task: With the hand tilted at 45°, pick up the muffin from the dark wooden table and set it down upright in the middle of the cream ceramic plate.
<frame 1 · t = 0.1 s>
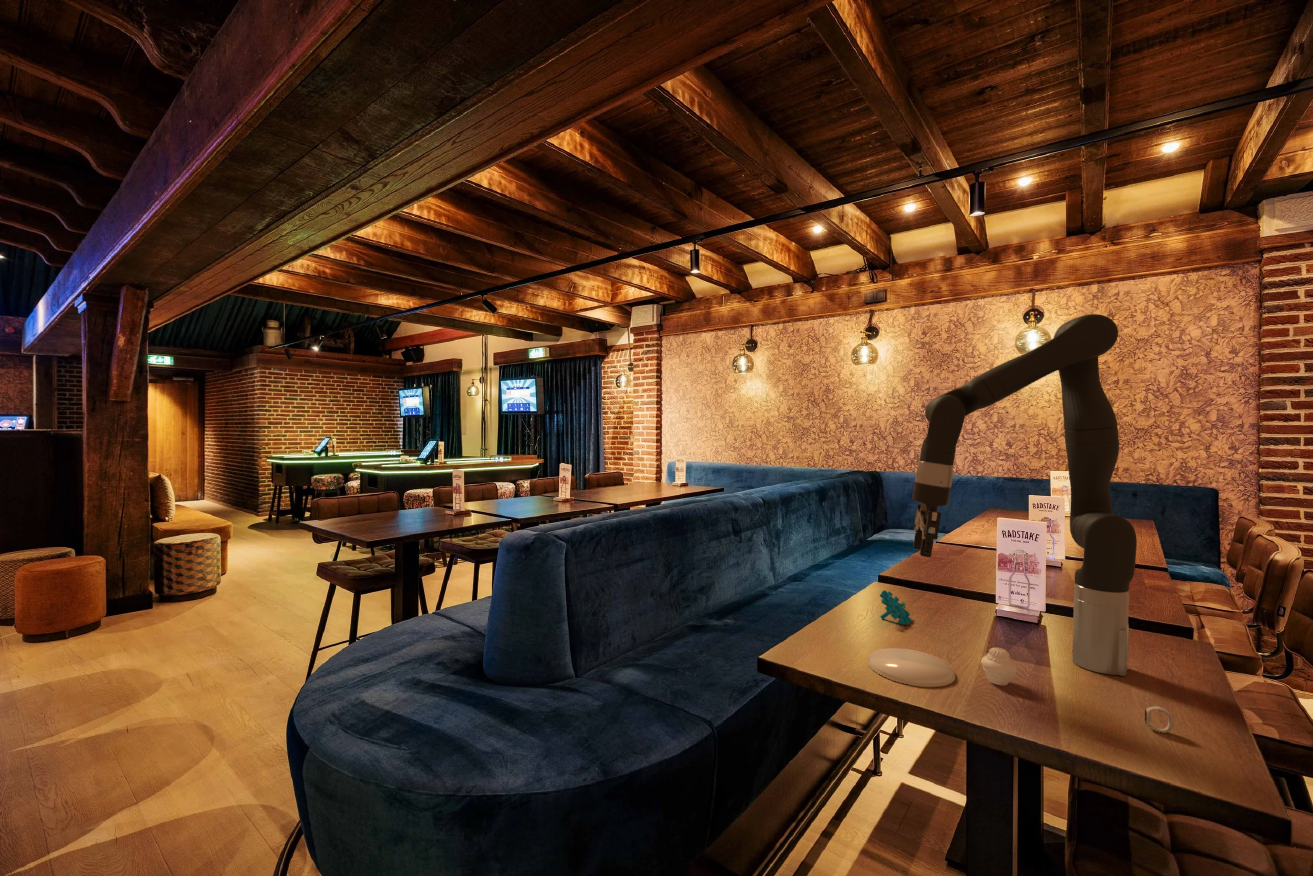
hand: (921, 552, 130), 22 cm above the table, tool pointing down, fingers open, 8 cm apart
muffin: (998, 683, 114), on the table
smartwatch: (1157, 732, 96), on the table
plate: (910, 668, 119), on the table
teal knobby piece: (895, 622, 149), on the table
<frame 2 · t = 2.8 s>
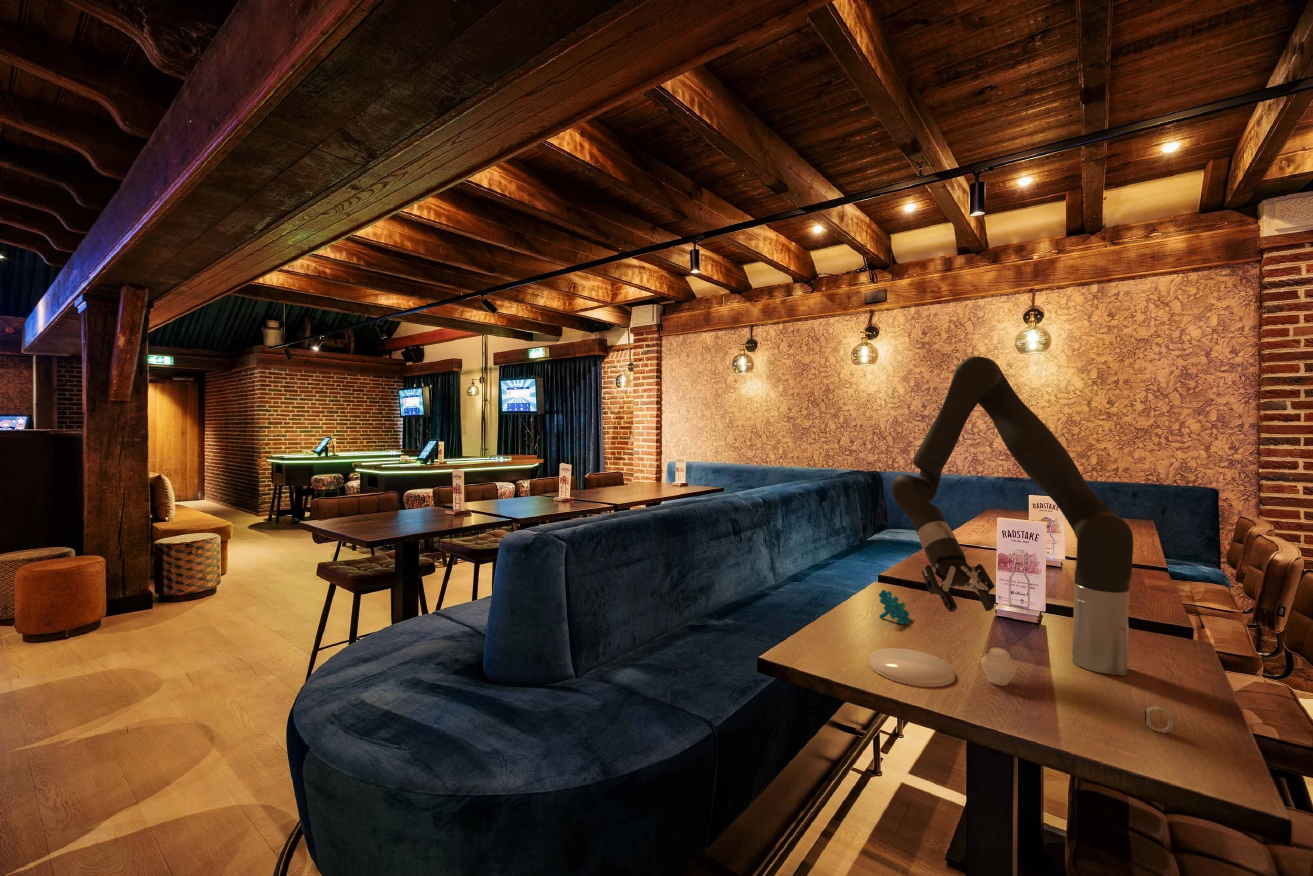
hand: (972, 609, 121), 12 cm above the table, tool tilted 45°, fingers open, 8 cm apart
nothing on the table moved.
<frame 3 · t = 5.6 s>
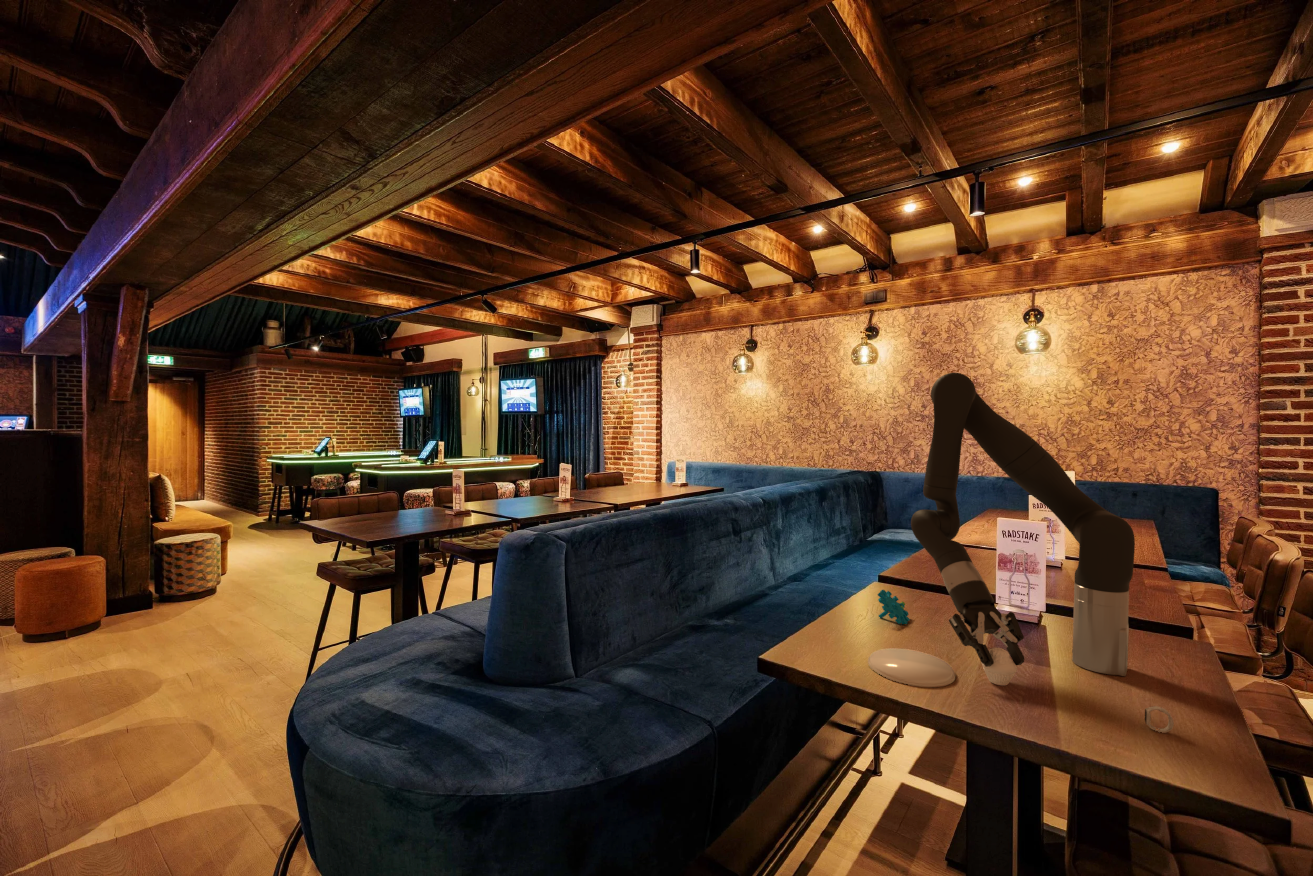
hand: (1005, 664, 112), 4 cm above the table, tool tilted 45°, fingers closed on muffin, 6 cm apart
muffin: (998, 683, 114), on the table, touching gripper
everything else where it was.
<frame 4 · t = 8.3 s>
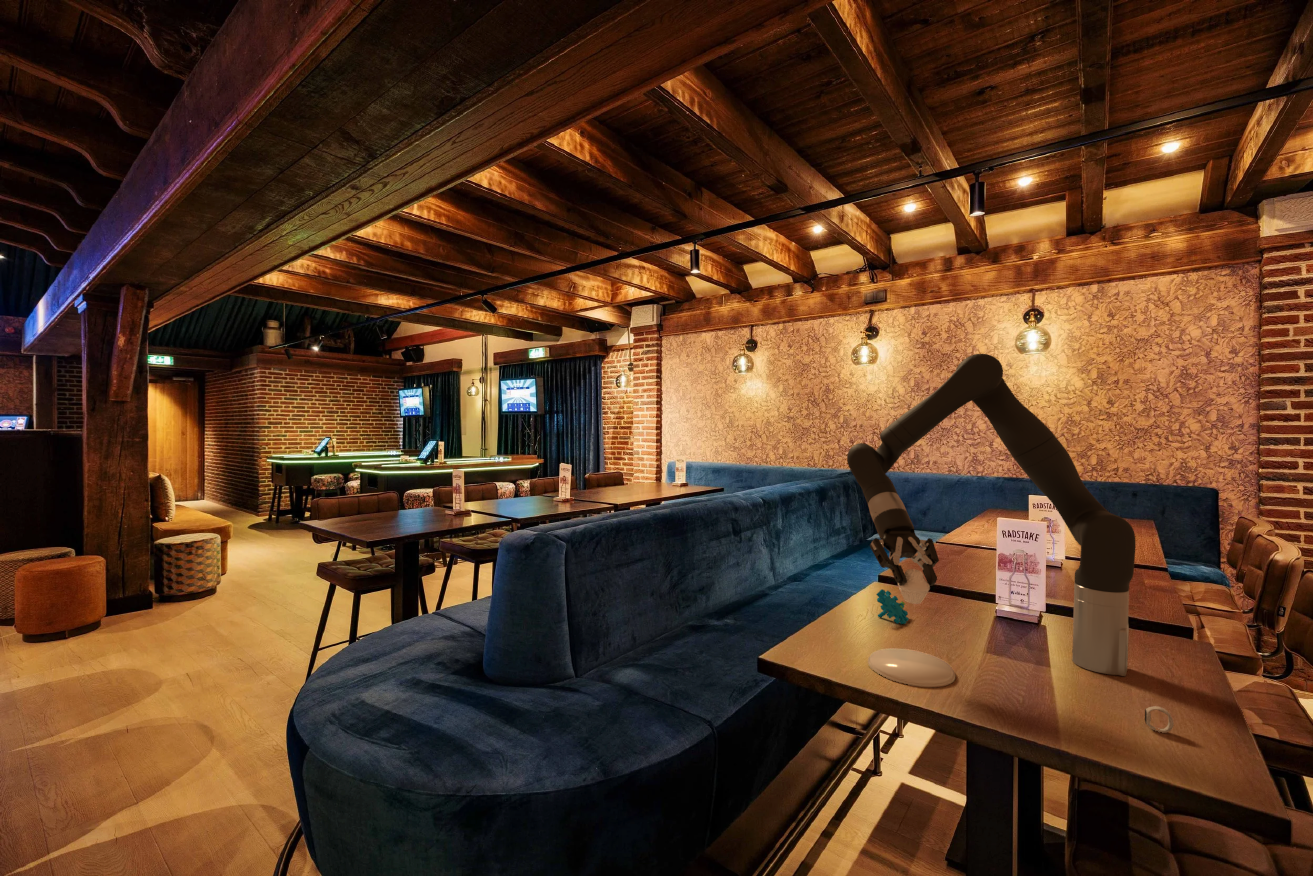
hand: (918, 583, 117), 19 cm above the table, tool tilted 45°, fingers closed on muffin, 6 cm apart
muffin: (912, 602, 119), point 14 cm above the table, touching gripper
everything else where it was.
when the fingers open (7 cm above the table, at t = 11.1 s): muffin drops 1 cm, resting on plate.
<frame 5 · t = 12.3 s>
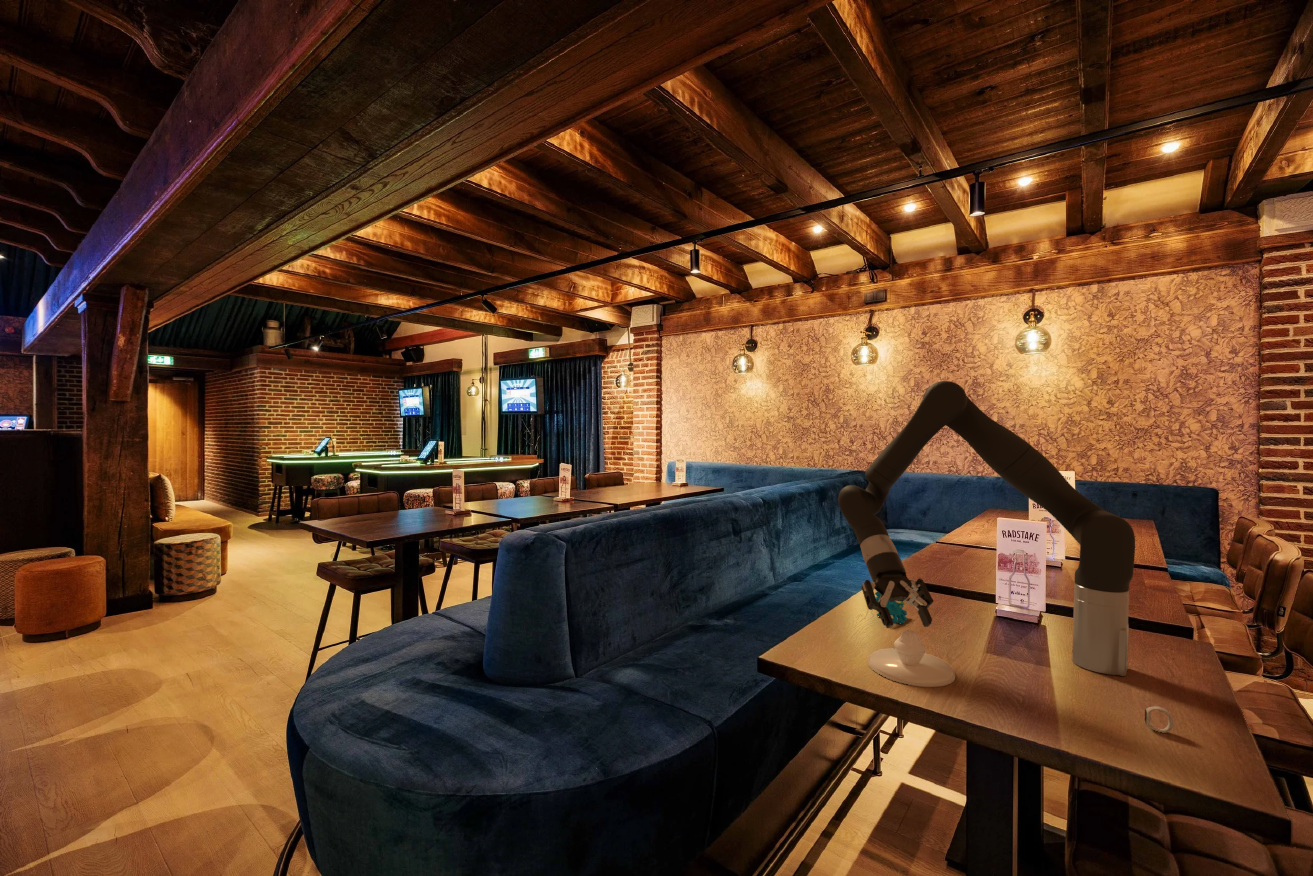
hand: (909, 625, 120), 9 cm above the table, tool tilted 45°, fingers open, 8 cm apart
muffin: (909, 663, 120), point 1 cm above the table, touching plate
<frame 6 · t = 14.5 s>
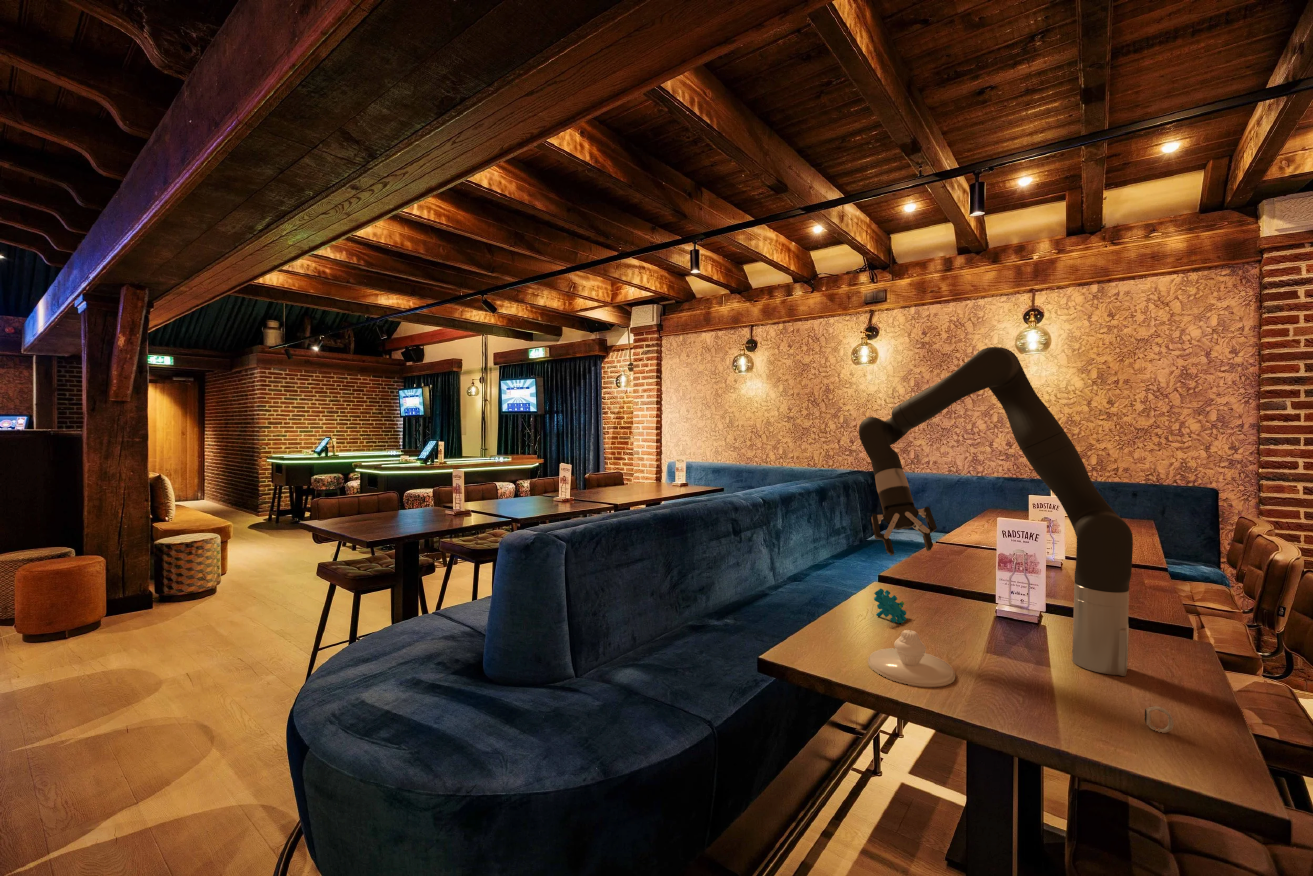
hand: (910, 552, 137), 21 cm above the table, tool tilted 30°, fingers open, 8 cm apart
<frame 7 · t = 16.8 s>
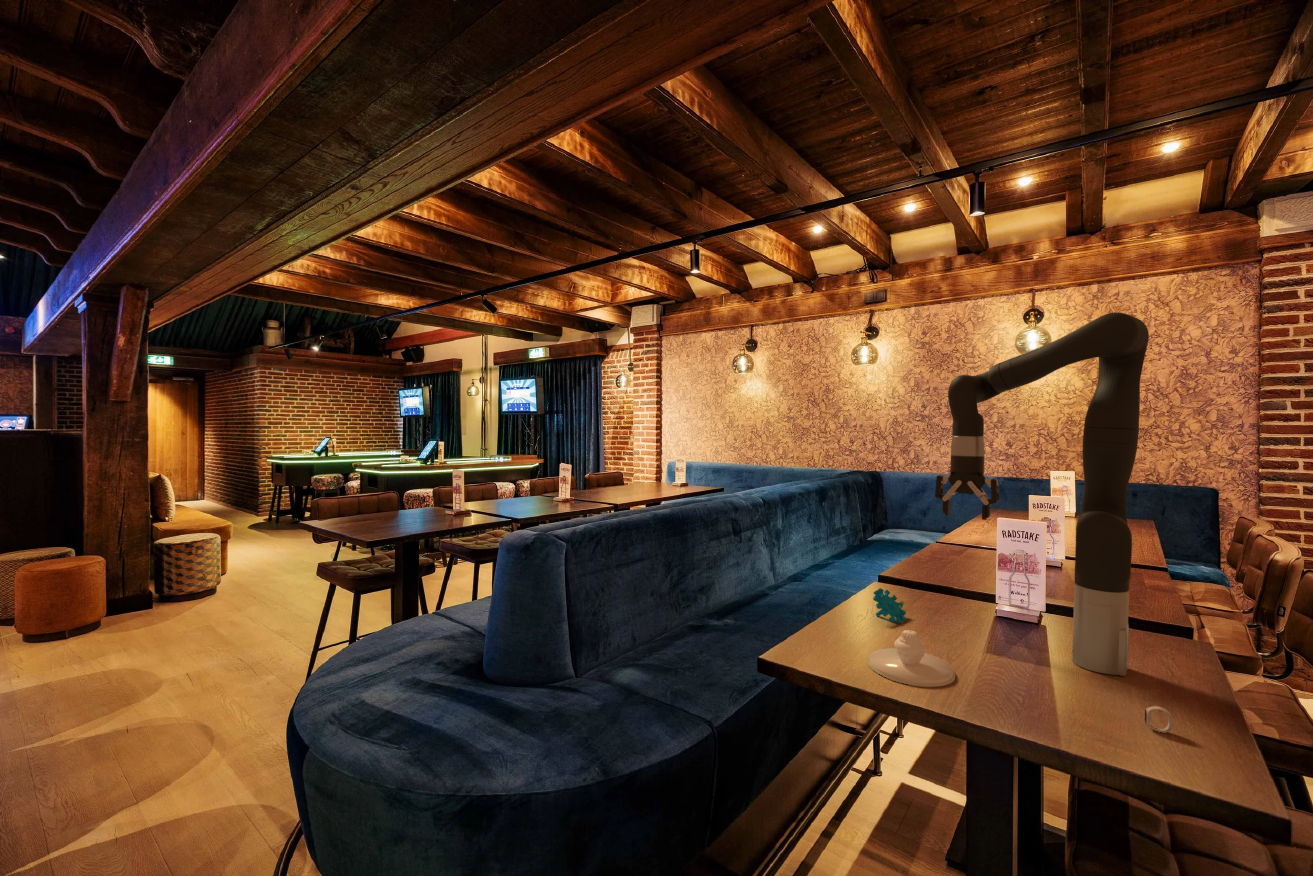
hand: (965, 517, 145), 28 cm above the table, tool pointing down, fingers open, 8 cm apart
at the end: muffin inside the target area on the plate (0.2 cm from its centre), point 1.0 cm above the plate's base; muffin tilted 0°; the gripper is holding nothing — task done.
